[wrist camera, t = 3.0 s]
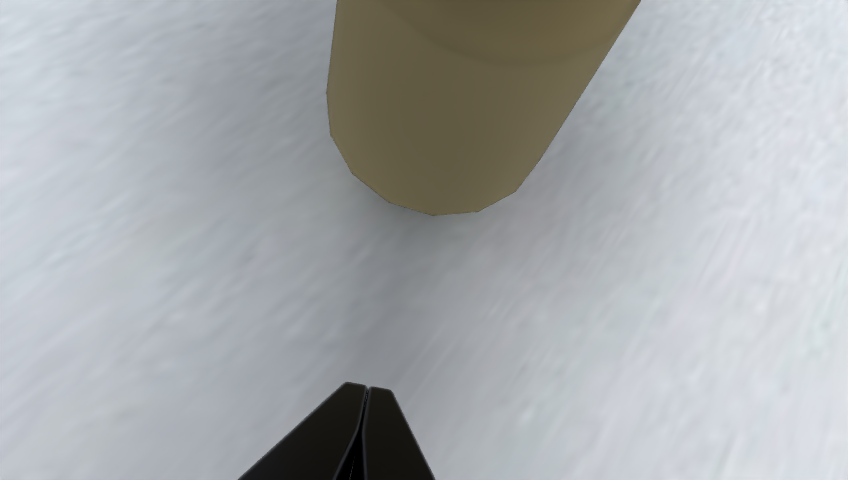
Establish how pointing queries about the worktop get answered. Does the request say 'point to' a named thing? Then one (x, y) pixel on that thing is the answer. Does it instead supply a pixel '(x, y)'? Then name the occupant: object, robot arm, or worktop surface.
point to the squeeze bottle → (459, 91)
